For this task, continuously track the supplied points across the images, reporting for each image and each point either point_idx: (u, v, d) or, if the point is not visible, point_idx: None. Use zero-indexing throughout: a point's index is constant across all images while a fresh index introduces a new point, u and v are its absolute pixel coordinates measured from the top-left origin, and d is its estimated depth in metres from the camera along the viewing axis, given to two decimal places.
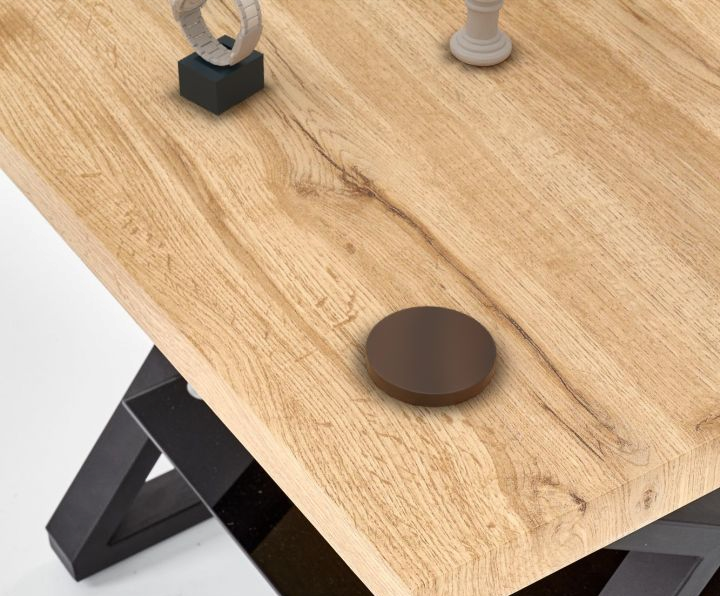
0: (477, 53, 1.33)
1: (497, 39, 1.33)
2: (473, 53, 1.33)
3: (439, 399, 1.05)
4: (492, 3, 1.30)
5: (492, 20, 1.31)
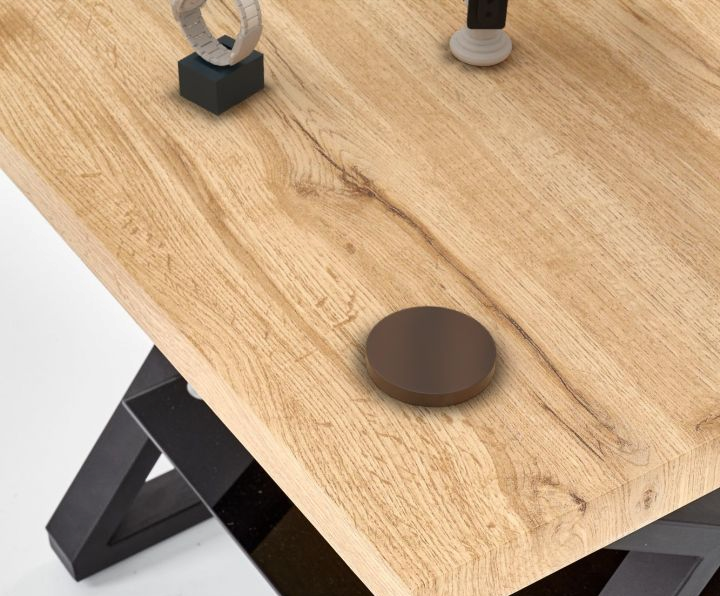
0: (477, 53, 1.33)
1: (497, 39, 1.33)
2: (473, 53, 1.33)
3: (439, 399, 1.05)
4: None
5: None
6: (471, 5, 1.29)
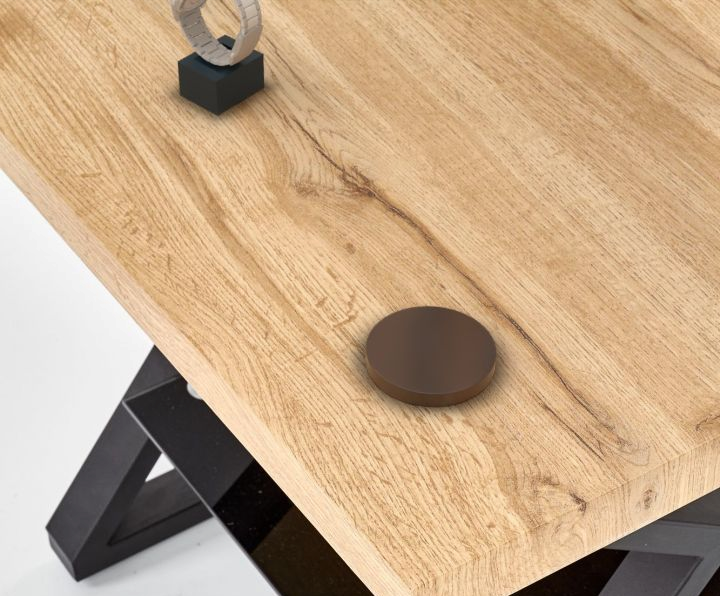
0: None
1: None
2: None
3: (439, 399, 1.05)
4: None
5: None
6: None
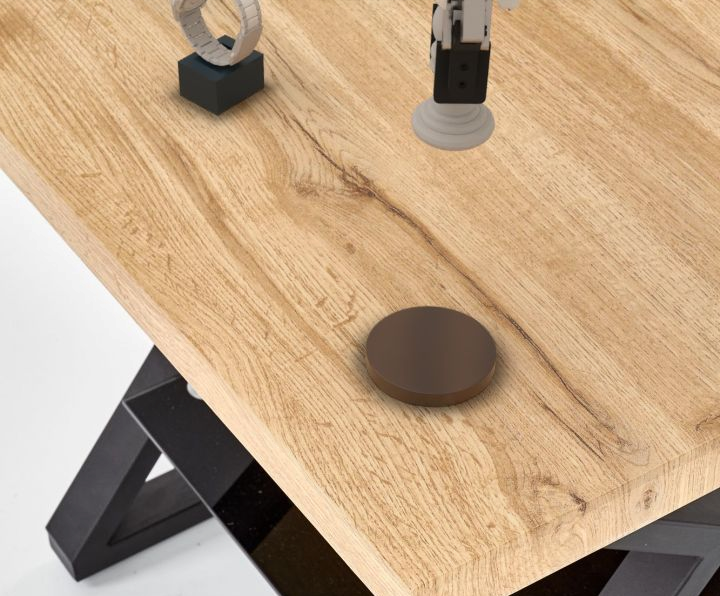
0: (447, 134, 0.98)
1: (475, 115, 0.99)
2: (442, 134, 0.98)
3: (439, 399, 1.05)
4: None
5: None
6: (439, 72, 0.94)
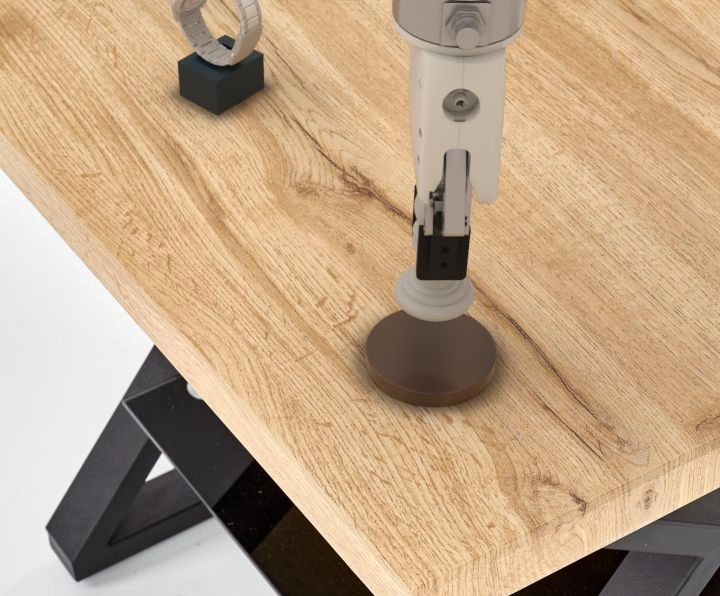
0: (429, 306, 1.02)
1: (455, 287, 1.03)
2: (424, 306, 1.02)
3: (439, 399, 1.05)
4: None
5: None
6: (421, 253, 0.99)
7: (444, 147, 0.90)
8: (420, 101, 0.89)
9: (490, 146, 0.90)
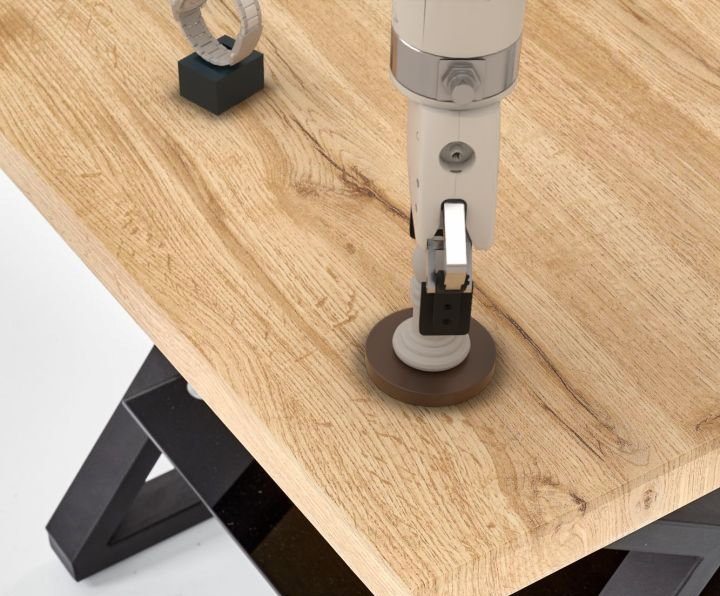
0: (426, 357, 1.06)
1: (451, 338, 1.06)
2: (421, 357, 1.06)
3: (439, 399, 1.05)
4: None
5: None
6: (424, 309, 0.99)
7: (441, 197, 0.92)
8: (417, 153, 0.92)
9: (486, 195, 0.92)
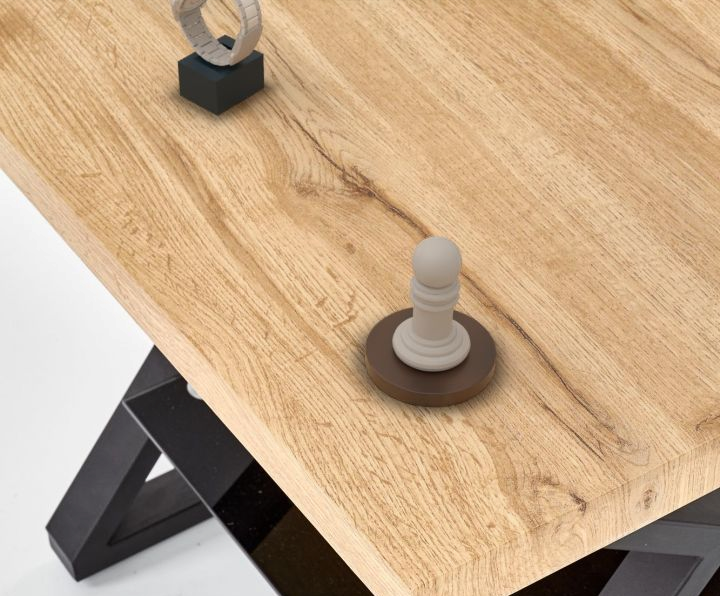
0: (426, 357, 1.06)
1: (451, 338, 1.06)
2: (421, 357, 1.06)
3: (439, 399, 1.05)
4: (444, 302, 1.03)
5: (445, 319, 1.05)
6: None
7: None
8: None
9: None
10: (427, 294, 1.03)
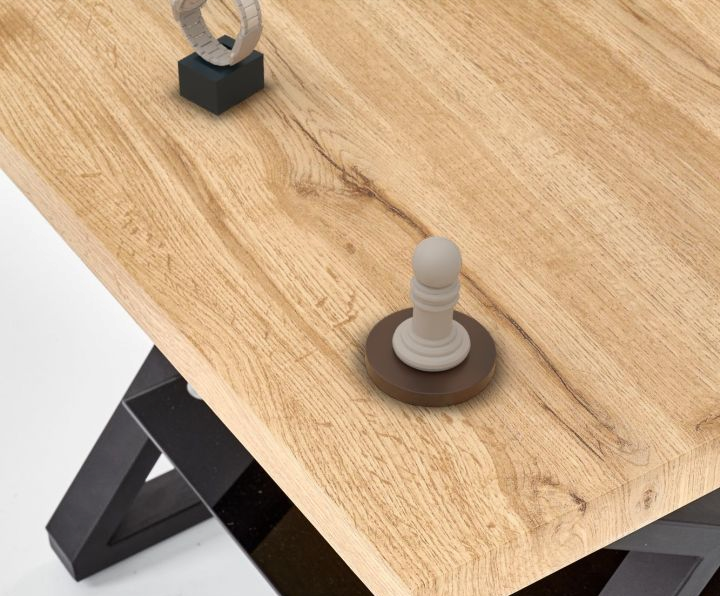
0: (426, 357, 1.06)
1: (451, 338, 1.06)
2: (421, 357, 1.06)
3: (439, 399, 1.05)
4: (444, 302, 1.03)
5: (445, 319, 1.05)
6: None
7: None
8: None
9: None
10: (427, 294, 1.03)
